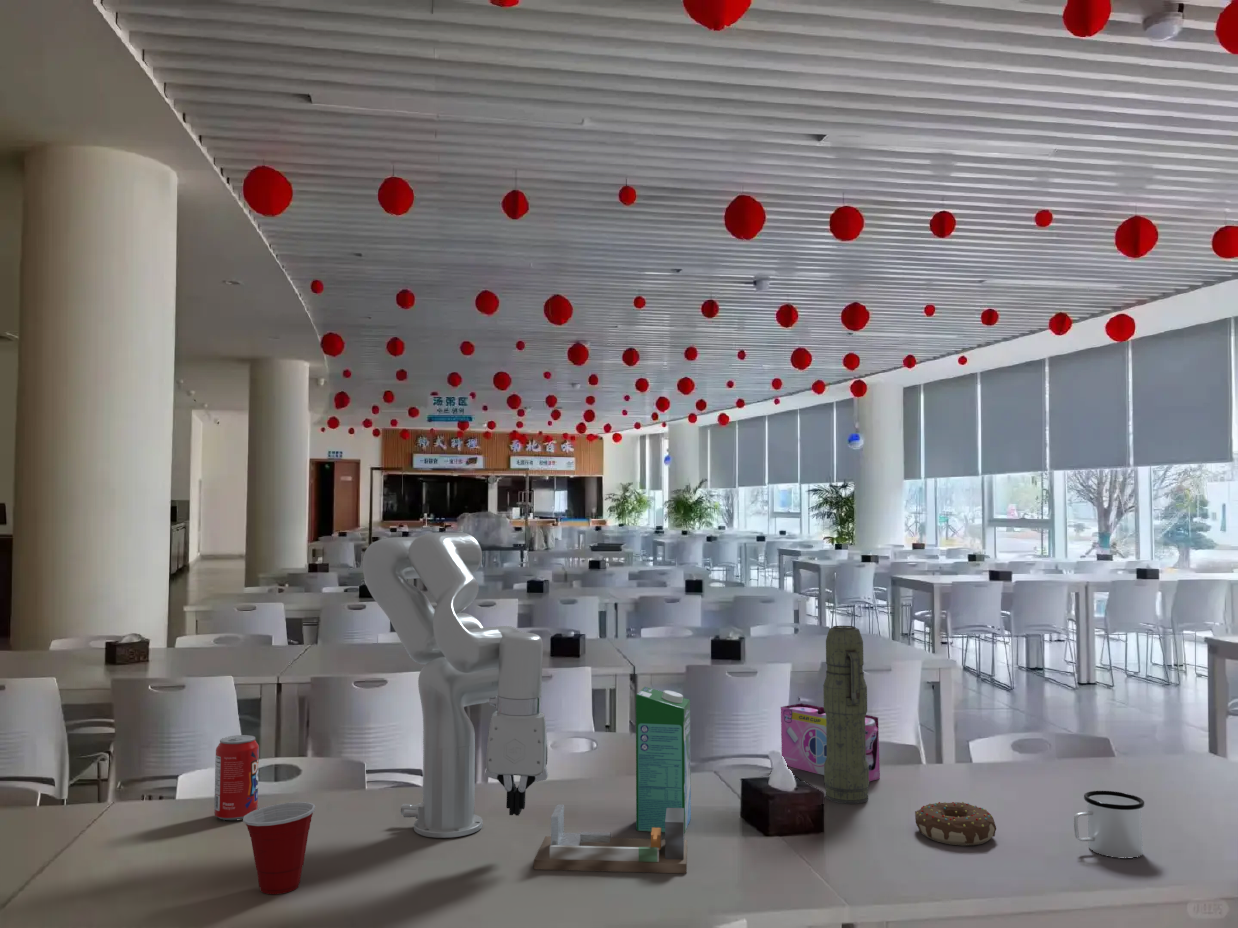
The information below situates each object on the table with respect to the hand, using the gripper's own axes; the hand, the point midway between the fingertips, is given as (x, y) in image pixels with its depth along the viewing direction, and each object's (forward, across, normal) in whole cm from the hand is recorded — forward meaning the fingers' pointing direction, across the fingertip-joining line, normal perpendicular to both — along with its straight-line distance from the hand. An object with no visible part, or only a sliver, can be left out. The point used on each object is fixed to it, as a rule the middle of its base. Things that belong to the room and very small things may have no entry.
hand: (515, 812), depth 167 cm
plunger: (+5, +12, -1) cm, 13 cm away
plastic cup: (+8, -34, -18) cm, 39 cm away
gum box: (+7, +61, +60) cm, 86 cm away
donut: (+5, +78, +16) cm, 80 cm away
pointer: (+4, +24, -3) cm, 25 cm away
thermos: (+6, +62, +39) cm, 74 cm away
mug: (+4, +102, +9) cm, 103 cm away
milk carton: (+7, +25, +18) cm, 32 cm away
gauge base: (+6, +17, -1) cm, 18 cm away
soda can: (+10, -58, +17) cm, 61 cm away
